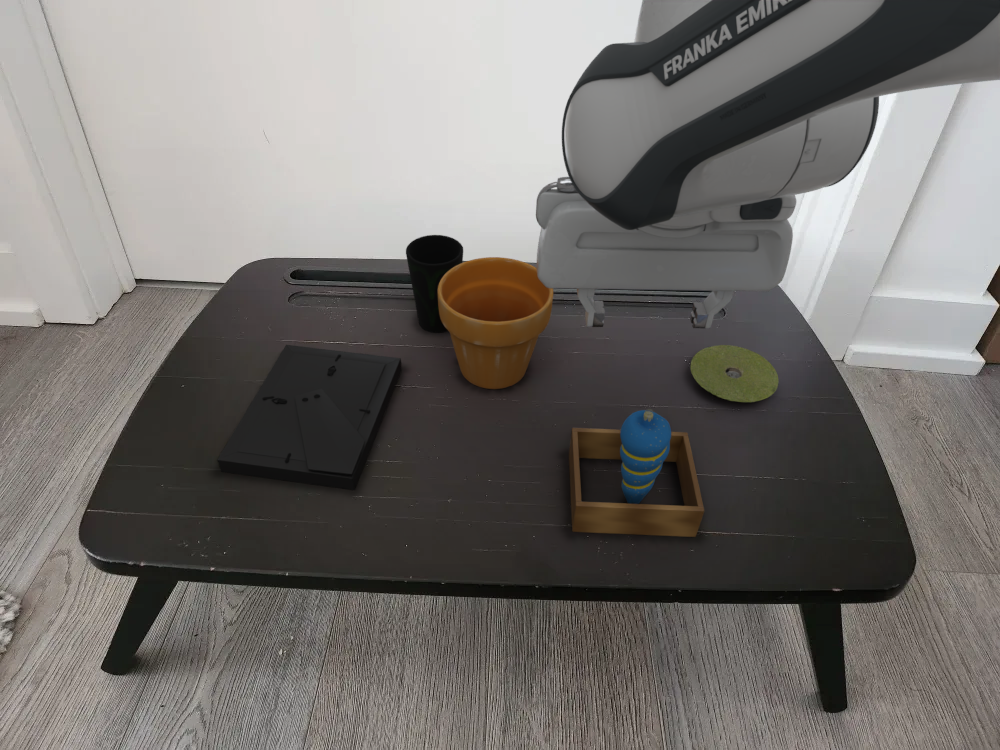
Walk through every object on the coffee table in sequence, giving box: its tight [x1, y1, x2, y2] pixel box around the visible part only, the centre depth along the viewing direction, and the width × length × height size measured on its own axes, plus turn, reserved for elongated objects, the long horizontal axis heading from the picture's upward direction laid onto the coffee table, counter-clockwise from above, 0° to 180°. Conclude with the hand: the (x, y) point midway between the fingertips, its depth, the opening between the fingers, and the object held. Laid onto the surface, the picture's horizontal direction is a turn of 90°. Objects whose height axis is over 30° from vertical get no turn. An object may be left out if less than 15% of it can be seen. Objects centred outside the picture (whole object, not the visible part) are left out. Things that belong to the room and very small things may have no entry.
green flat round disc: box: [689, 344, 780, 403], centre depth 95 cm, size 11×11×2 cm
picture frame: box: [217, 344, 403, 491], centre depth 88 cm, size 16×3×21 cm
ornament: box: [620, 408, 672, 504], centre depth 75 cm, size 5×5×15 cm
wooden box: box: [568, 427, 705, 538], centre depth 80 cm, size 13×11×4 cm
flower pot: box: [438, 256, 554, 390], centre depth 93 cm, size 14×14×13 cm
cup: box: [405, 234, 464, 334], centre depth 100 cm, size 8×8×12 cm
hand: (646, 323), depth 64 cm, fingers open, 8 cm apart
